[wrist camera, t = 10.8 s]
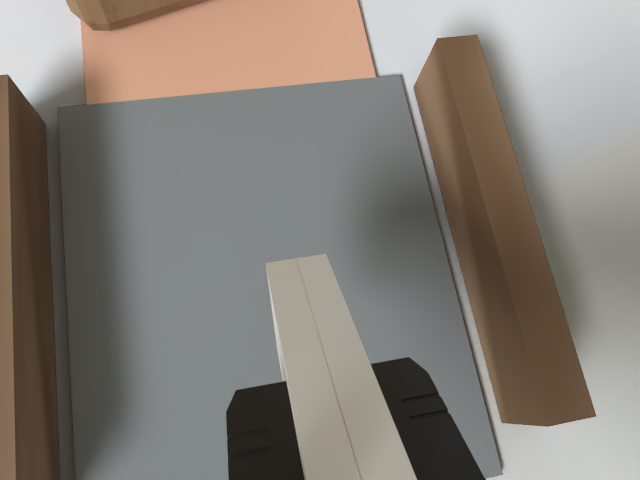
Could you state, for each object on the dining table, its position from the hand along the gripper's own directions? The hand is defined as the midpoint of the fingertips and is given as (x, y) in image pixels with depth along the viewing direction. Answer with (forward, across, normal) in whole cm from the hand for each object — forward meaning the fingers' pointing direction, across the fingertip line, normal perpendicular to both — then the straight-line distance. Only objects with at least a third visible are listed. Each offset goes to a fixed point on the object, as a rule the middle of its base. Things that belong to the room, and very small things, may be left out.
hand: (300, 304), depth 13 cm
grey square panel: (+5, +1, +2) cm, 5 cm away
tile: (+14, +1, -8) cm, 16 cm away
